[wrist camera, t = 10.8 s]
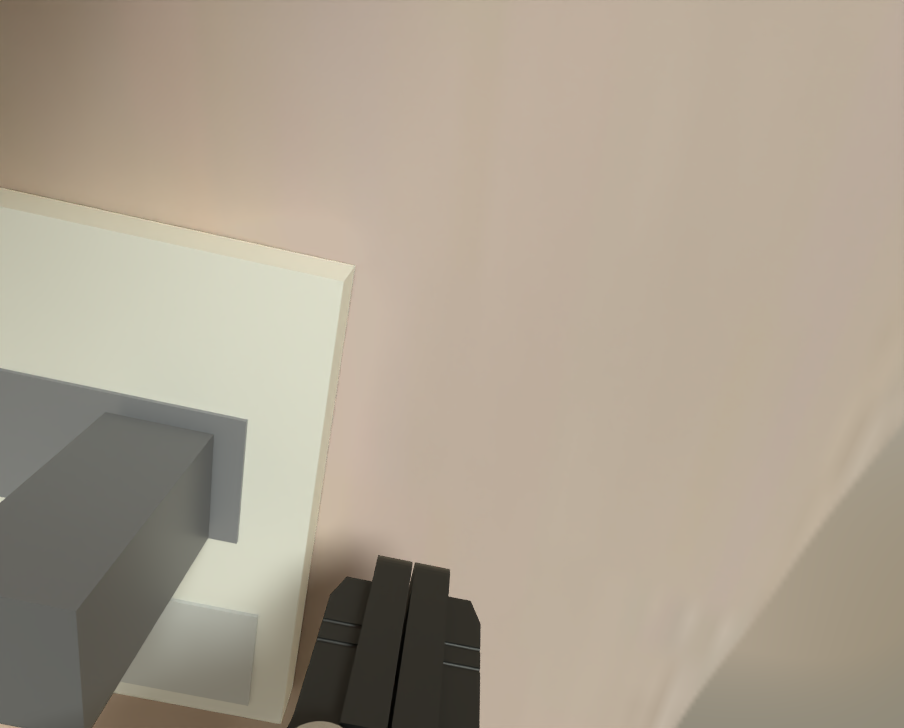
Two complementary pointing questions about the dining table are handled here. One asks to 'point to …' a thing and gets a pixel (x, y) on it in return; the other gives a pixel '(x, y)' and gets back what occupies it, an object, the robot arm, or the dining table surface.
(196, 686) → the switch panel
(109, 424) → the switch
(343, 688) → the robot arm
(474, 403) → the dining table surface
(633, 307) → the dining table surface
